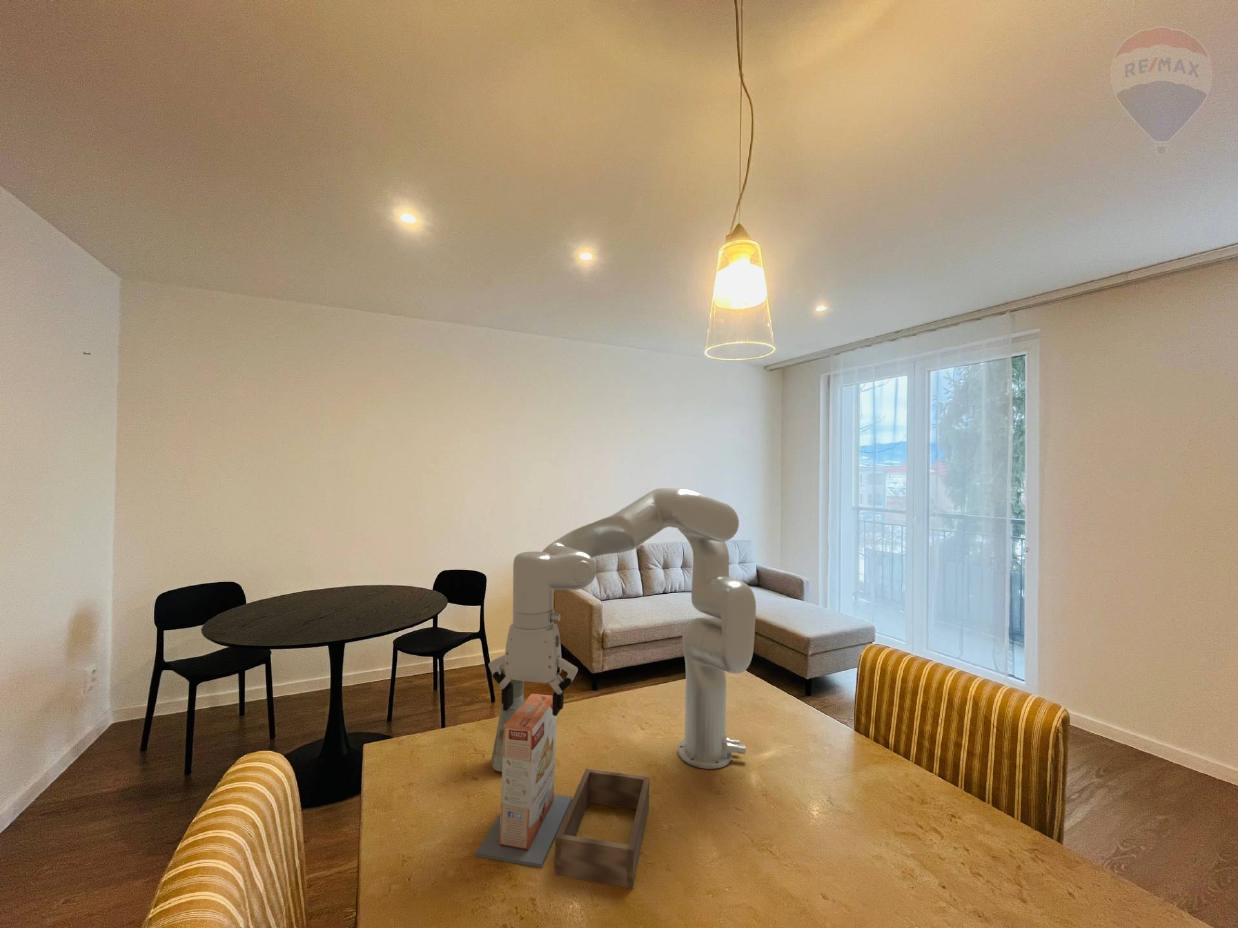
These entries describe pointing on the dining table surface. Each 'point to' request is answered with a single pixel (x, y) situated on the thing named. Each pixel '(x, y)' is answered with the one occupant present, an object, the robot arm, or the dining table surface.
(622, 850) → the walnut crate
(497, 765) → the bottle
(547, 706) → the cracker box
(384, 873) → the dining table surface
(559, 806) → the slate mat
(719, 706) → the robot arm
